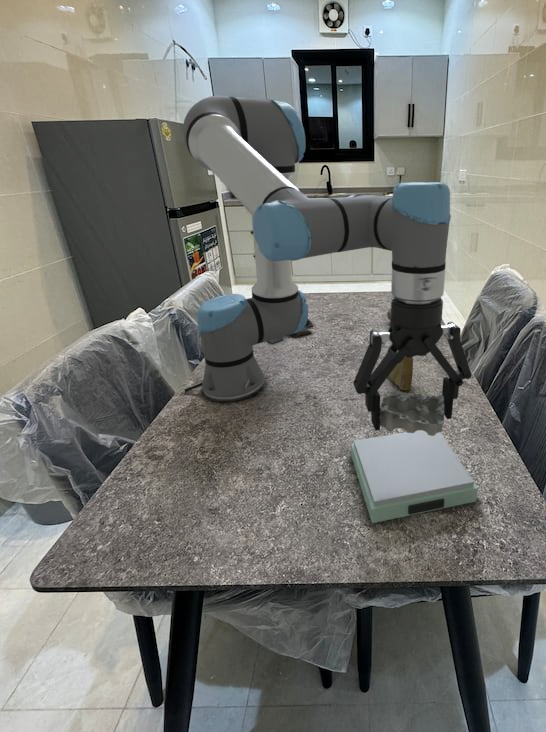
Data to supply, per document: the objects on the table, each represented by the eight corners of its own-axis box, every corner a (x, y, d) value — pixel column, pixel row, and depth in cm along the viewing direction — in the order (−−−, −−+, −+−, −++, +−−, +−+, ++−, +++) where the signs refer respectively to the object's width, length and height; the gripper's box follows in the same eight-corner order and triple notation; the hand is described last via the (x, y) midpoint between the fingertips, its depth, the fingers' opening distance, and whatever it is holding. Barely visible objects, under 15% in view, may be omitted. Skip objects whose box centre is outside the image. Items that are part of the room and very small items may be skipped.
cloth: (264, 319, 144) (262, 303, 141) (314, 317, 144) (313, 302, 142) (252, 344, 123) (250, 326, 121) (310, 342, 124) (309, 324, 121)
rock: (421, 386, 93) (427, 363, 101) (400, 361, 91) (408, 339, 99) (387, 401, 99) (395, 378, 107) (366, 378, 97) (377, 356, 105)
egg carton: (376, 430, 62) (375, 409, 61) (384, 405, 69) (384, 385, 67) (442, 439, 60) (444, 418, 58) (444, 412, 67) (446, 392, 65)
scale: (372, 525, 60) (372, 506, 59) (351, 455, 75) (350, 439, 73) (477, 503, 64) (479, 485, 62) (437, 441, 78) (438, 425, 77)
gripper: (340, 312, 50) (345, 445, 59) (506, 297, 55) (488, 422, 63) (331, 295, 57) (337, 417, 65) (479, 283, 61) (466, 398, 70)
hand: (411, 419), depth 64 cm, fingers closed on egg carton, 12 cm apart
